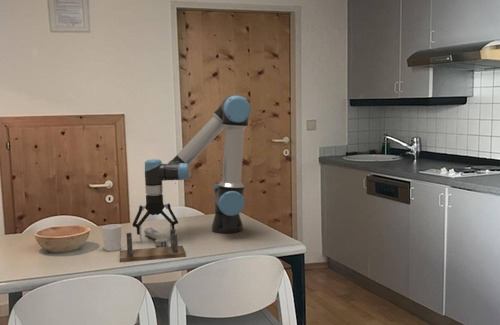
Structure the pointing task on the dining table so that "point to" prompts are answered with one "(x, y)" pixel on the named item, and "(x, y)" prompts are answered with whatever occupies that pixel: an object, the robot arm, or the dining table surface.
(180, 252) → the hook board
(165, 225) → the dining table surface
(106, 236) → the white cup
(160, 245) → the grey handled tool
